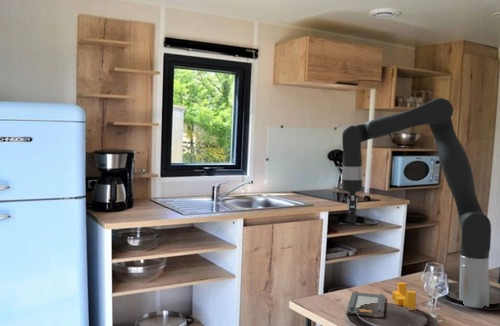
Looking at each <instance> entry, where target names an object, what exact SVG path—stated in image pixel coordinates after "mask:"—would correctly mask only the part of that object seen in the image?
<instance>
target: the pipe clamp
mask: <svg viewBox="0 0 500 326" xmlns="http://www.w3.org/2000/svg"><path fill="white" fill-rule="evenodd" d="M396 285H397V289H396V290H393V291H392V298H391V300H392V301H393V302H394V303H395V305H397V304H398V305H397V306H403V307H404V306H406V307H409V308H412V309H415V311H416V309H417V308H416V303H417V302H416V300H417V299H416V298H417V297H416V296H417V295H416V294H417V292H416V291H415V290H407V283H406V282H399V281H398V282H397V284H396Z"/></svg>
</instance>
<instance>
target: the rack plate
mask: <svg viewBox="0 0 500 326" xmlns="http://www.w3.org/2000/svg"><path fill="white" fill-rule="evenodd" d="M370 303H379V305H378V312H381V308H382V303H385V304H386V295H385V294H383V293H379V294H376V293H375V294H374V293H365V292H358V291H356V290H354V291H352V292H351V296H350V299H349V302H348V305H347V309H346V314H347V313H348V312H351V313H356V310H357V309H358V308H359V307H360V306H361V305H364V304H370ZM359 311H360V312H369V313H372V310H366V309H359Z"/></svg>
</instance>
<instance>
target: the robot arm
mask: <svg viewBox="0 0 500 326" xmlns="http://www.w3.org/2000/svg"><path fill="white" fill-rule="evenodd" d="M453 113H454V107H453V104H452V103H451V101H449V100H448V99H447V98H446V99H445V98H441V97H437V98H434V99H432V100H430V101H429V102H426V103H425V104H422V105H419V106H417V107H415V108H412V109H409V110H406V111H401V112H398V113H393V114H390V115H385V116H381V117H378V118H374V119H372V120H369V121H366V122H363V123H360V124H356V125H347V126H346V127H345V128H344V129H343V131H342V134H341V135H342V137H341V138H342V139H341V140H342V151H343V152H342V170H341V190H342V191H343V192H348V193H347V195H346V201H347V202H346V203H347V208H348V219H349V223H350V224H355V223H356V215H357V214H356V213H357V208H358V195H356V192H358V193H359V192H362V191H363V169H362V168H363V166H362V164H363V163H362V162H363V158H362V156H363V155H362V152H361V151H362V143H363V142H366V141H369V140H371V139H379V138H383V137H387V136H389V135H392V134H395V133H400V132H402V131H406V130H407V129H410V128H414V127H418V126H423V125H428V126H429V129H430V131H431V133H432V136H433V138H434V142H435V145H436V150H437V155H438V159H439V163H440V166H441V169H442V172H443V173H442V174H443V175H444V178H445V181H446V184H447V186H448V188H449V191H450V193H451V194H452V196H453V199H454V202H455V205H456V211H457V215H458V220H459V225H460V228H461V245H460V248H459V249H460V252H459V287H458V288H459V289H458V290H459V291H458V294H459V295H458V298H459V299H460V300H462V301H463V304H464V305H463V306H464V307H468V308H476V309H484V308H483V307H484V306H487V307H489V308H490V284H491V283H490V279H489V260H490V259H489V258H490V251H491V242H492V241H491V240H492V224H491V220H490V218H489V217H488V216H487V215H485V214H484V211H483V209H482V207H481V205H480V203H479V200H478V198H477V194H476V189H475V181H474V175H473V171H472V167H471V164H470V161H469V158H468V155H467V153H466V151H465V149H464V147H463V145H462V143H461V142H460V139H459V138H458V136H457V133H456V132H455V127H454V125H453V120H452V116H453ZM459 299H458V300H459ZM487 307H486V308H487Z"/></svg>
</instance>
